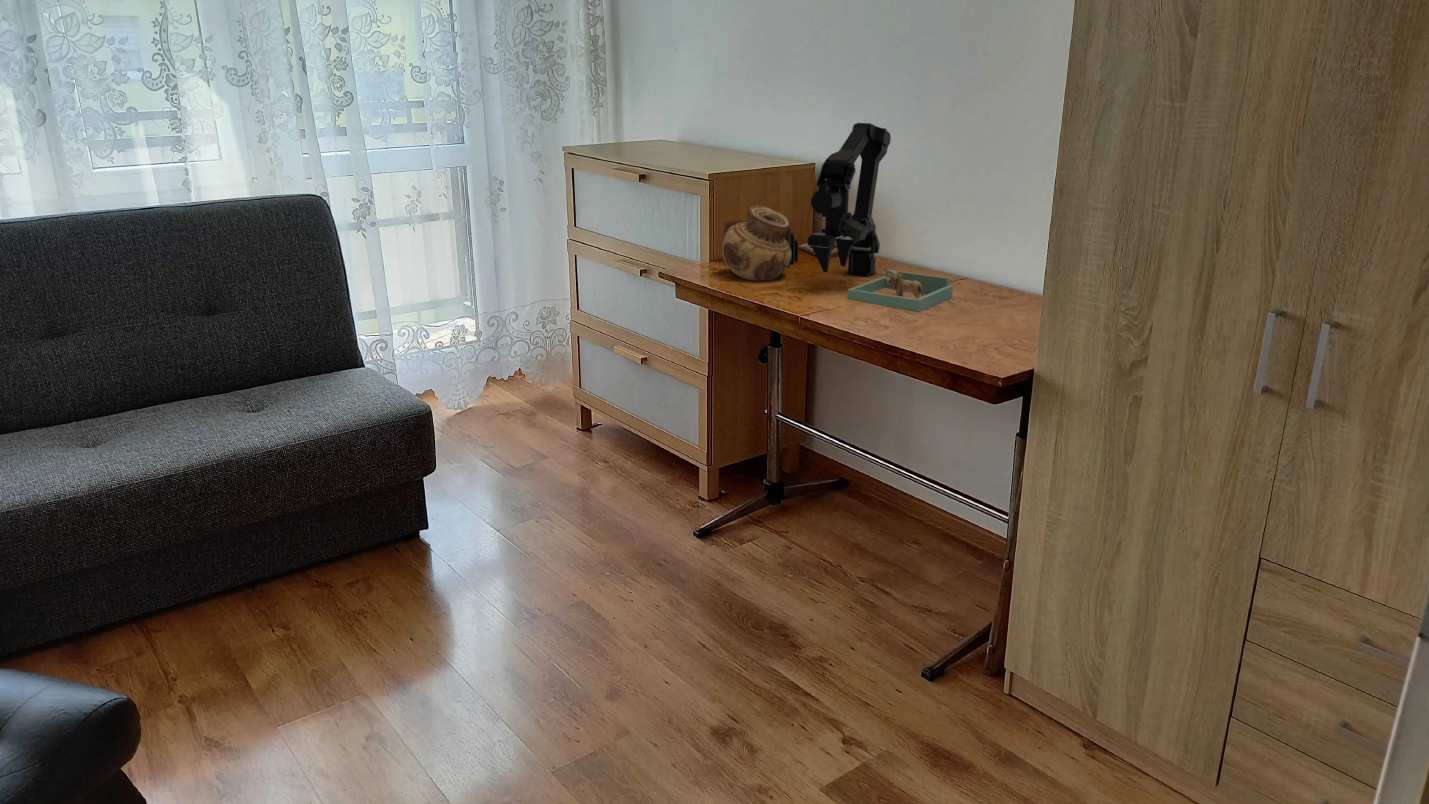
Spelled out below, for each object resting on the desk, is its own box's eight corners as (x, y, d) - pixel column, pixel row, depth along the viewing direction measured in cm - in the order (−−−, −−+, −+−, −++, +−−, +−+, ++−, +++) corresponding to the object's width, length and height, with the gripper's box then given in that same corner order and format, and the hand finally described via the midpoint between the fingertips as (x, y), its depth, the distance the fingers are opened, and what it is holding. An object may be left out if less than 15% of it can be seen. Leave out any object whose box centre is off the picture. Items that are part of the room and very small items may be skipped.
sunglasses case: (791, 247, 313) (804, 229, 313) (807, 260, 316) (819, 242, 316) (819, 257, 297) (833, 239, 297) (835, 271, 301) (848, 253, 301)
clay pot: (769, 291, 263) (770, 214, 256) (708, 283, 272) (708, 208, 265) (802, 278, 278) (804, 204, 271) (744, 270, 287) (744, 199, 281)
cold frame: (846, 301, 252) (847, 281, 250) (883, 287, 267) (884, 268, 265) (918, 312, 241) (919, 292, 240) (951, 297, 256) (953, 278, 254)
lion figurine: (881, 299, 255) (883, 270, 252) (889, 296, 258) (891, 267, 255) (924, 306, 248) (926, 276, 245) (932, 302, 251) (934, 273, 249)
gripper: (846, 216, 246) (843, 279, 251) (882, 207, 260) (879, 267, 265) (807, 211, 252) (805, 273, 257) (844, 203, 266) (841, 262, 272)
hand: (834, 269), depth 263 cm, fingers open, 9 cm apart
